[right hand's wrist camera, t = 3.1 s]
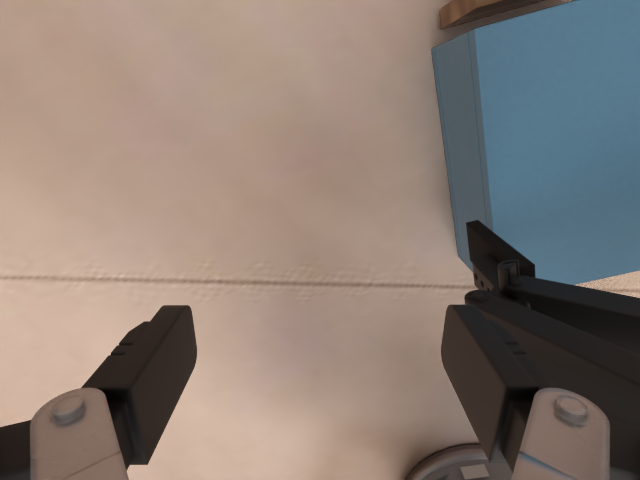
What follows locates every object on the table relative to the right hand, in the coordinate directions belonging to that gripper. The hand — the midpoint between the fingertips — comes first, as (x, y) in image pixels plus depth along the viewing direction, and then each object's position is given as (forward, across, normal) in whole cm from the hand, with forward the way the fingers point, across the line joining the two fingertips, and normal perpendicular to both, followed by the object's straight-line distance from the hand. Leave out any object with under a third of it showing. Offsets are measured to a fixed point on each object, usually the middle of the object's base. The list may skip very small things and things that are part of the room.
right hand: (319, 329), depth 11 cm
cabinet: (+20, +15, +4) cm, 26 cm away
